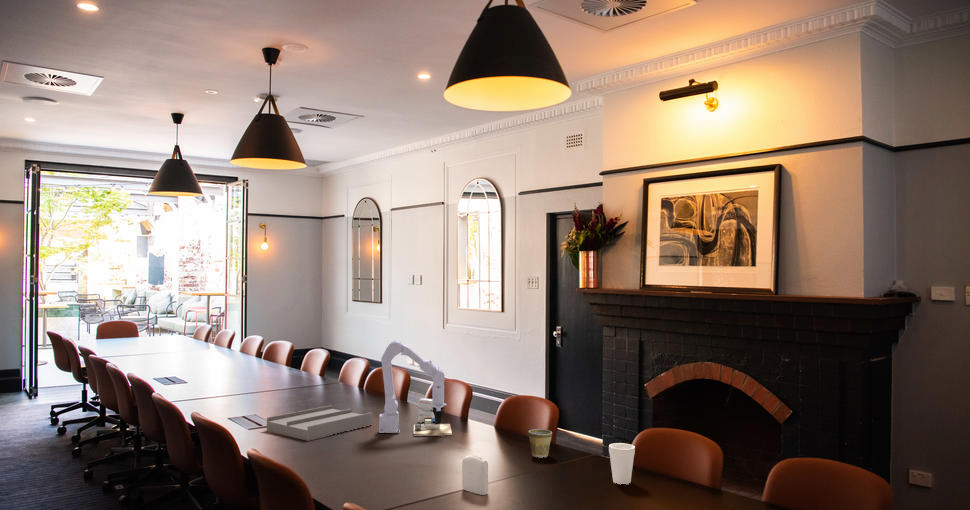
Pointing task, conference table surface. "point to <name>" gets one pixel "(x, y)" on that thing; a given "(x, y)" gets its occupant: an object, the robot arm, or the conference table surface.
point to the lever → (426, 426)
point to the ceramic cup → (540, 442)
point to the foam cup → (621, 462)
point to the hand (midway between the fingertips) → (437, 423)
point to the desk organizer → (317, 422)
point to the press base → (443, 429)
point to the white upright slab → (475, 474)
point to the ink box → (425, 409)
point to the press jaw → (427, 421)
